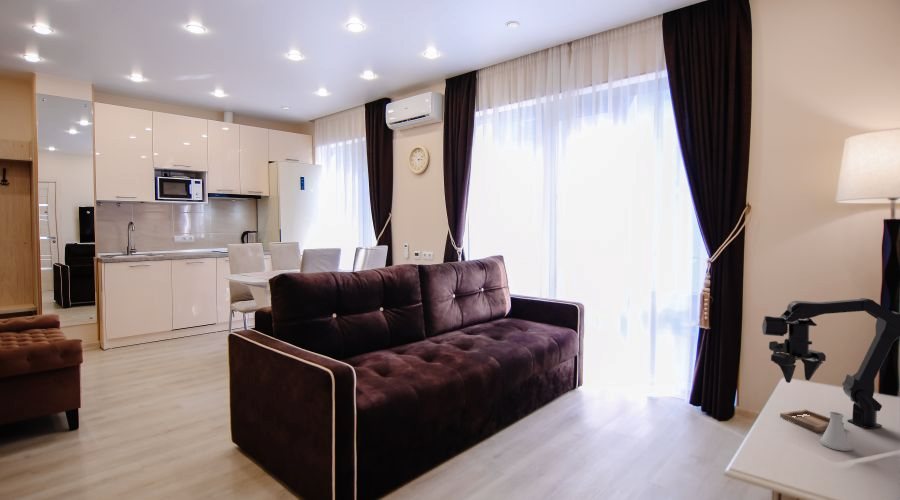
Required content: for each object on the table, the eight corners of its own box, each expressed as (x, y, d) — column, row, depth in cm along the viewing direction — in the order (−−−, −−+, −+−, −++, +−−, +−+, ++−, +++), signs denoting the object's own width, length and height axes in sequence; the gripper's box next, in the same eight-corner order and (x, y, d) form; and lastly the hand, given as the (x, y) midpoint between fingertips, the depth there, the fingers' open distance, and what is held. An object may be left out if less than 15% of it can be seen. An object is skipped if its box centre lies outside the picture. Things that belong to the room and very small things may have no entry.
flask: (858, 452, 131) (858, 419, 131) (830, 450, 132) (831, 417, 132) (840, 441, 138) (841, 409, 138) (814, 440, 139) (815, 408, 139)
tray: (805, 415, 159) (805, 409, 159) (843, 428, 147) (843, 422, 147) (780, 419, 156) (780, 413, 156) (817, 433, 144) (817, 427, 144)
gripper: (794, 331, 167) (794, 372, 168) (756, 334, 162) (756, 376, 163) (827, 337, 157) (826, 381, 157) (787, 340, 152) (786, 386, 152)
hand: (797, 381), depth 157 cm, fingers open, 9 cm apart
